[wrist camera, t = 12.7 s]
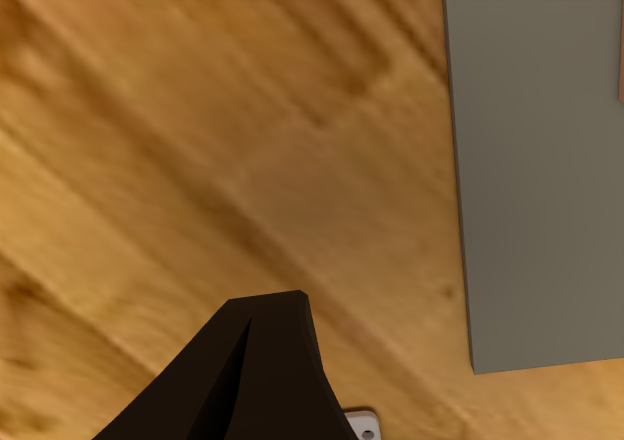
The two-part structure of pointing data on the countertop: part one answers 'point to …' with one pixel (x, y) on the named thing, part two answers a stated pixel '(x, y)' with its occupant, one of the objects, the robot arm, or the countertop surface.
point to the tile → (622, 61)
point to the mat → (539, 178)
